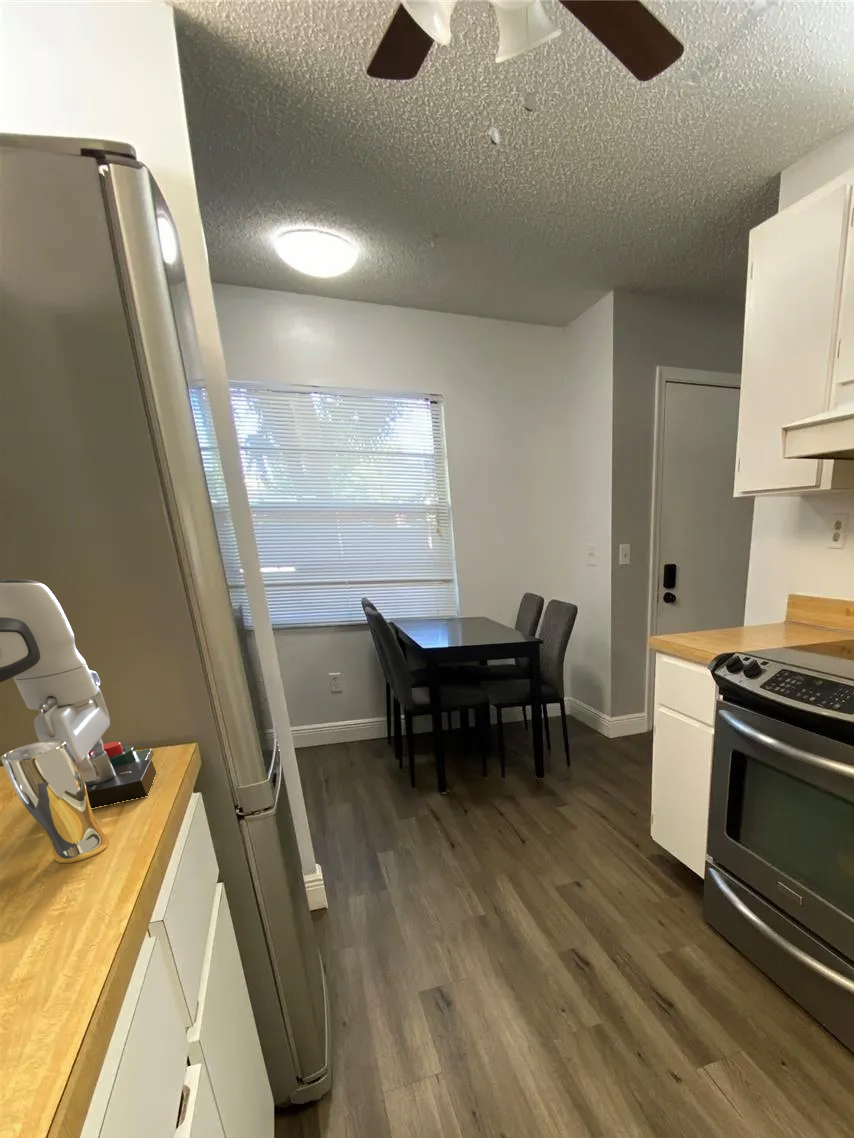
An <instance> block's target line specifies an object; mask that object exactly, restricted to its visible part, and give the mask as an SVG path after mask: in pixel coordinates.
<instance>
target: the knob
mask: <svg viewBox="0 0 854 1138" xmlns="http://www.w3.org/2000/svg"><path fill="white" fill-rule="evenodd" d="M88 755H89V757H90V759H89V760H90V762H91V763H92V765H93V766H95V767H96V769H97V772H98V773H99V776H98V777H97V779H96V780H94V781H89V782H85V784H86V785H93V784H98V783H102V782H105V781H107V780H110V779H112V778H113V777H114V776H115V775H116V774H115V771H114V769H113V767H112V765H111V762H110V760H109V758H108V755H107V753H106V751H95V750H90V752H89V753H88Z"/></svg>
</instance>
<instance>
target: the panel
mask: <svg viewBox="0 0 854 1138" xmlns="http://www.w3.org/2000/svg"><path fill="white" fill-rule="evenodd" d="M113 769H114V771H115V774H116V775H115V776H114V777H113V778H112V779H110V780H107V781H105V782H102V783H98V784H93V785H86V787H87V791H88V795H89V800H90V804H91V808H95V807H99V806H104V805H110V804H114V803H117V802H122V801H126V800H131V799H136V798H141V797H145V796H148V797H149V795H148V793H149V791H150V788H151V786H152V783H153V780H154V777H155V775H156V772H157V770H156V767H155V765H154V764H153V762H152V760H151V759H148V760H143V761H139V762H134V763H129V764H125V765H120V766H115V767H113ZM152 787H153V786H152ZM151 789H152V788H151ZM150 792H151V791H150ZM149 794H150V793H149Z"/></svg>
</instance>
